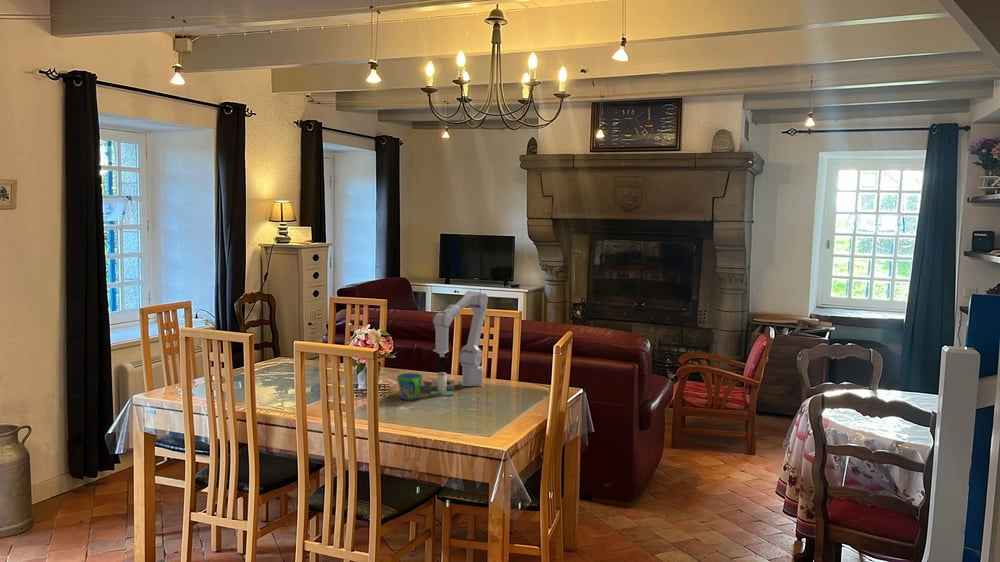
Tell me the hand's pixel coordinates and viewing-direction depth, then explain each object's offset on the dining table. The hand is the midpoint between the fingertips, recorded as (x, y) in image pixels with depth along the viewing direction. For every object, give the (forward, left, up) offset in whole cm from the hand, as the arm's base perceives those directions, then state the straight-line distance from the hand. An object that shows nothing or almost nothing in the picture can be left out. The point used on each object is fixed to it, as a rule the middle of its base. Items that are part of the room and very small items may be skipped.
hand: (441, 369), depth 330 cm
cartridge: (0, +4, -10) cm, 10 cm away
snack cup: (+14, +12, -11) cm, 21 cm away
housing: (+2, -7, -10) cm, 13 cm away
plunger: (+6, -7, -10) cm, 14 cm away
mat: (0, +4, -10) cm, 11 cm away
